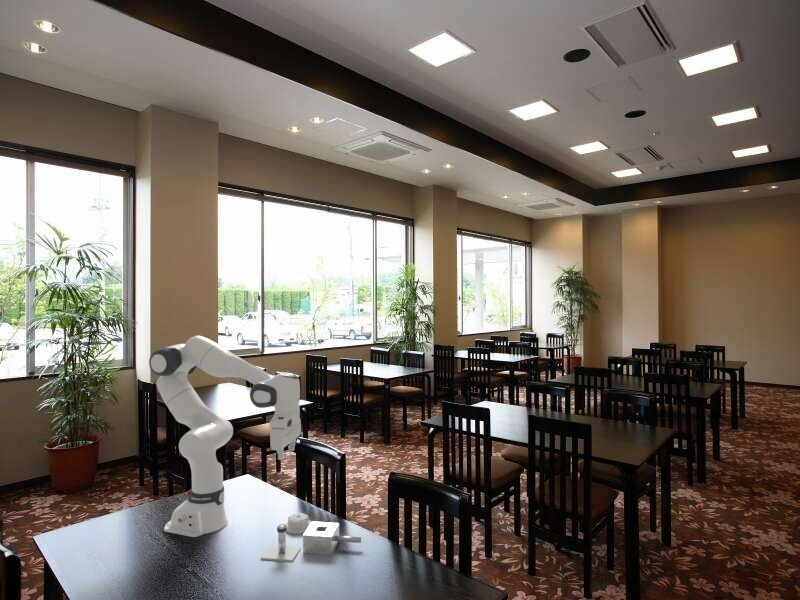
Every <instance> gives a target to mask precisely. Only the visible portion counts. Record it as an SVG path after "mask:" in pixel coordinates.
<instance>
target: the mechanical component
mask: <svg viewBox="0 0 800 600" xmlns="http://www.w3.org/2000/svg"><path fill="white" fill-rule="evenodd" d="M311 523H312V521H311V520H310V519H309V515H308V513H306V514H305V513H304V512H298V513H293V514H291V515H289V516H288V517H287V522H286V523H285V525H286V526H287V531H286V533H288V534H293V535H299V534H304V533H305V531H306V530H307V529H308V527H309V526H310V524H311Z"/></svg>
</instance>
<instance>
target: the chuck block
mask: <svg viewBox="0 0 800 600" xmlns="http://www.w3.org/2000/svg"><path fill="white" fill-rule="evenodd" d="M339 542H343V543H357V544H362V543H361V542H362V537H361V536H351V535H350V536H348V535H340V523H339V522H327V521H326V522H325V521H315V520H314V521H311V524H310V526H309V527H308V529H307V530H306V531H305V532H304V533H302V552H303V553H306V554H317V555H318V554H319V555H332V554H333V553H334V550H335V549H336V547H337V545H338V543H339ZM303 553H302V554H303Z"/></svg>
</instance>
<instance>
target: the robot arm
mask: <svg viewBox="0 0 800 600" xmlns="http://www.w3.org/2000/svg"><path fill="white" fill-rule="evenodd" d="M148 362H149V363H148V364H149V365H148V366H149V369H150V371H151V372H152V373H153V374H155V375H156V376H159V377H158V378H157V380H156V388H157V390H158V393H159V395H160V396H161V399H162V401H163V402H164V404H165V406H167V408H168V410H169V412H170V413H171V414H172V416H173V418H174V419H175V421H176V422H178V423H180V424H183V425H185V426H187V427H188V428H189V429H190V430H189V431H187V432H186V433H185V434H183V436H182V437H181V438H180V439H179V443H178V449H179V453H180V454H181V456H182V457H184V458H185V459H186V460H187V461H188V463H189V466H190V470H191V489H189V490H188V491H187V492H185V496H184V497H187V499H186V500H185V501H183V502H182V503H181V504H180V505H178V506H177V507H176V508H175V509H174V510H173V511H172V514H171V518H170V520H169V521H168V522H167V523H166V524H165V526H164V527H163V532H165V533H170V534H175V535H176V534H177V535H181V536H185V537H191V538H198V537H200V536H203V535H205V534H210V533H214V532H217V531H220V530H222V529H223V528H225V526H227V524H228V518H227V516H226V515H227V514H226V510H225V504H224V503H225V502H224V501H225V485H224V468H223V465H222V463H221V462H218V458H217V454H216V452H217V450H218V449H220V448H221V447H223V446H225V445H226V444H227V443H228V442H229V441H230V440H231V438H232V437H233V435H234V426H233V425H232V423H231V422H230V421H229V420H228V419H225V418H222V417H221V416H219V415H217V414H216V413H215V412H213V411H212V410H211V409H210V408H209V407H208V406H207V405H206V404H205V403H204V401H202V399H201V397H200V396H199V394H198V393H197V392H196V391H195V388H194V387H193V386H192V384H191V383H190V382H189V379H188V375H191V374H193V372H195V370H196V368H198V369H200V370H201V371H203V372H204V373H206V374H208V375H210V376H213V377H215V378H239V379H244V380H246V381H248V382H249V383H250V384H253V385H252V387H251V389H250V391H249V399H250V401H251V403H252V405H253V406H254V407H256V408H259V409H262V408H263V409H264V408H265V409H266V408H271V407H273V408H274V414H273V415H272V418H271V419H270V421H269V428H270V433H269V441H270V448H271V450H272V451H276V453H277V460H279V461H283V460H284V459H285V453H284V450H285V449H284V448H286V447H288V452H293V451H295V445H296V442H297V438H299V437H300V436H301V433H302V423H301V422H302V419H301V418H300V415H301V413H300V412H301V411H300V410H301V409H300V404H299V403H300V399H301V386H300V384H301V383H300V379H299V377H298V376H297V374H295V373H292V372H288V371H287V372H286V371H284V372H283V371H282V372H279V373H277V374H276V375H274V374H271V373H270V372H268V371H265V370H263V369H261V368H260V367H258V366H256V365H255V364H253V363H251V362H249V361H248V360H245V359H243V358H242V357H239V356H238V355H236V354H234V353H233V352H231V351H229V350H228V349H226V348H225V347H224V346H222V345H220V344H218V343H217V342H215V341H213V340H211V339H209V338H207V337H206V336H202V335H194V336H192V337H190V338H188V340H187V341H186V342H184V343H177V344H172V345H170V346H166V347H161V348H159V349H157V350H155V351H154V352H152V354H151V355H150V357H149V360H148Z"/></svg>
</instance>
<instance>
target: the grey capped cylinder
mask: <svg viewBox="0 0 800 600" xmlns="http://www.w3.org/2000/svg"><path fill="white" fill-rule="evenodd" d="M285 524H286V523H285ZM285 524H284V523H282V524H279V525H277V527H276V531H277V533H278V538H277V539H278V540H277V541H278V542H277V543H278V545H277V546H278V553H279V554H284V553H286V546H287V544H286V543H287V541H286V537H287V536H286V535H287V532H286V531H287V526H286V525H285Z"/></svg>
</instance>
